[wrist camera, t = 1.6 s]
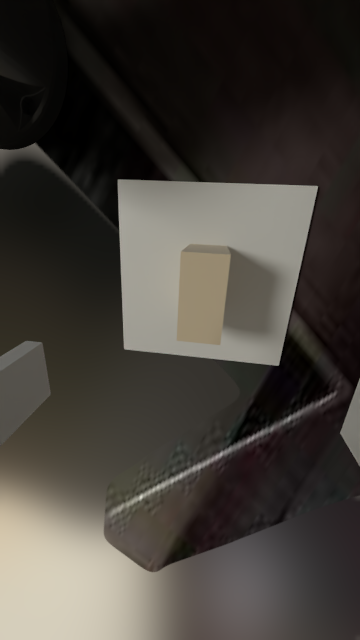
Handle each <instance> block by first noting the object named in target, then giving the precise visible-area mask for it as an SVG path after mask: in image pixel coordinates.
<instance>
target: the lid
mask: <svg viewBox="0 0 360 640" xmlns="http://www.w3.org/2000/svg"><path fill="white" fill-rule="evenodd" d="M317 189H318V186H297V185H268V184H238V183H208V182H179V181H149V180H120V179H118V202H119V228H120V254H121V278H122V306H123V332H124V349H128V350H138V351H146V352H156V353H165V354H175V355H184V356H194V357H203V358H211V359H221V360H230V361H239V362H249V363H258V364H267V365H277V366H279V362H280V358H281V353H282V349H283V344H284V339H285V335H286V330H287V326H288V321H289V317H290V312H291V308H292V303H293V298H294V294H295V289H296V285H297V280H298V276H299V271H300V267H301V262H302V257H303V253H304V248H305V244H306V239H307V235H308V230H309V226H310V221H311V216H312V212H313V207H314V203H315V198H316V194H317Z"/></svg>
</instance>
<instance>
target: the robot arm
mask: <svg viewBox="0 0 360 640" xmlns="http://www.w3.org/2000/svg"><path fill="white" fill-rule="evenodd" d="M67 79H68V57H67V47H66V41H65V36H64V32H63V28H62V24H61V21H60V18H59V15H58V13H57V10H56V8H55V5H54V3H53V1H52V0H0V149H8V150H12V149H20V148H24V147H27V146H29V145H31V144H33V143H35V142H37V141H38V140H39V139H41V138H42V137H43V136H44V135H45V134H46V133H47V132H48V131H49V130H50V128H51V127H52V126H53V124H54V122H55V121H56V119H57V117H58V115H59V113H60V110H61V108H62V105H63V101H64V98H65V93H66V88H67ZM50 395H51V393H50V387H49V381H48V375H47V369H46V362H45V356H44V350H43V344H42V343H41V342H32V341H25V342H24V343H22V344H20V345H19V346H17V347H16V348H14V349H12V350H11V351H9V352H7V353H6V354H4V355H3V356H1V357H0V446H1V445H2V444H3V443H4V442H5V441H6V440H7V439H8V438H9V437H10V436H11V435H12V433H14V432H15V431H16V430H17V428H18V427H19V426H20V425H21V424H22V423H23V422H24V421H25V420H26V419H27V418H28V417H29V416H30V415H31V414H32V413H33V412H34V411H35V410H36V409H37V407H39V406H40V404H42V403H43V402H44V400H46V399H47V398H48V397H49V396H50ZM340 434H341V435H342V437H343V439H344V440H345V442H346V444H347V445H348V447H349V449H350V451H351V452H352V454H353V456H354V457H355V459H356V461H357V462H358V464H359V466H360V379H359V382H358V385H357V388H356V391H355V393H354V396H353V399H352V402H351V404H350V407H349V410H348V413H347V416H346V418H345V421H344V424H343V427H342V429H341V432H340Z"/></svg>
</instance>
